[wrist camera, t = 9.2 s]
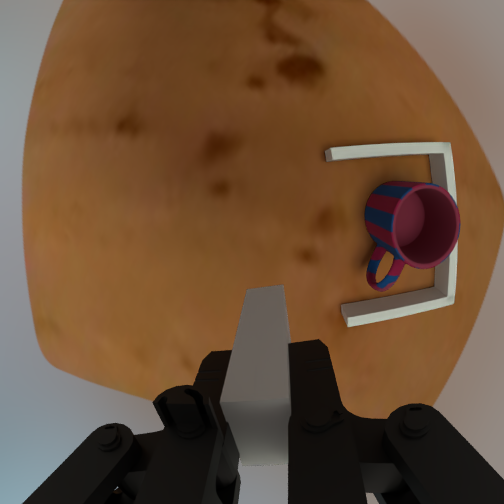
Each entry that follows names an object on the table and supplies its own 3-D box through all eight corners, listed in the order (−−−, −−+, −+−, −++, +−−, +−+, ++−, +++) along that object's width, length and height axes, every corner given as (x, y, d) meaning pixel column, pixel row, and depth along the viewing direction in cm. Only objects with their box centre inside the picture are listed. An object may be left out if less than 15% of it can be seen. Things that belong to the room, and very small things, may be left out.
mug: (434, 211, 26) (472, 222, 19) (376, 286, 28) (401, 315, 21) (391, 166, 25) (424, 164, 18) (328, 246, 27) (345, 268, 21)
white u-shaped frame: (324, 151, 25) (330, 147, 22) (435, 144, 24) (450, 142, 21) (341, 313, 29) (347, 327, 26) (440, 293, 28) (453, 303, 25)
